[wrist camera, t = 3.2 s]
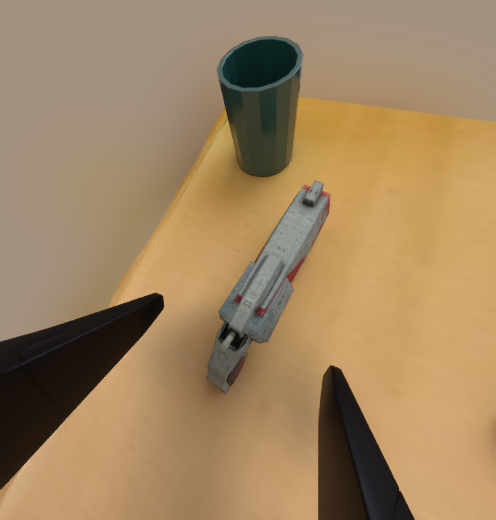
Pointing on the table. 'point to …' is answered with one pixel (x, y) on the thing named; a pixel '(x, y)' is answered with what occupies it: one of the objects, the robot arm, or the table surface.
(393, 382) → the table surface
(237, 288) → the toy gun
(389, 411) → the table surface
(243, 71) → the pen holder
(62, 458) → the table surface
